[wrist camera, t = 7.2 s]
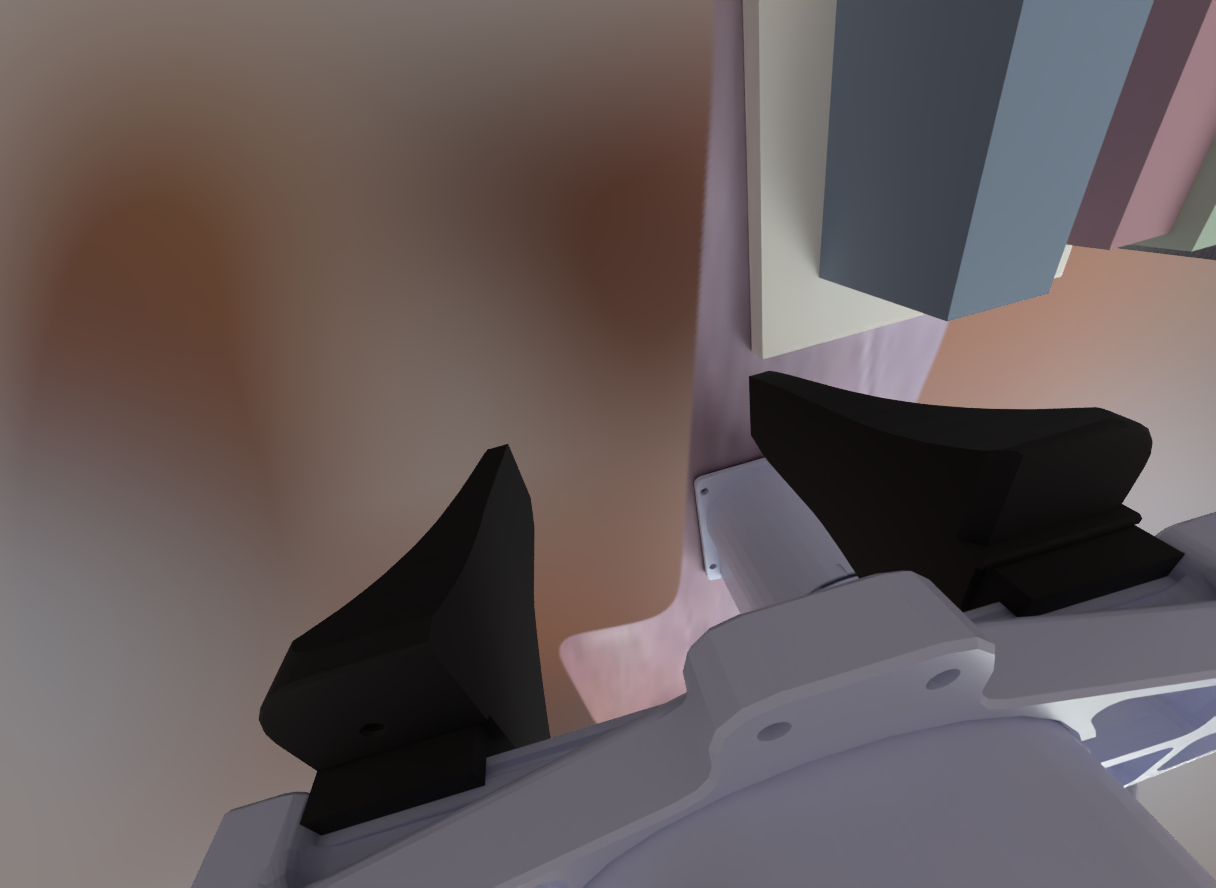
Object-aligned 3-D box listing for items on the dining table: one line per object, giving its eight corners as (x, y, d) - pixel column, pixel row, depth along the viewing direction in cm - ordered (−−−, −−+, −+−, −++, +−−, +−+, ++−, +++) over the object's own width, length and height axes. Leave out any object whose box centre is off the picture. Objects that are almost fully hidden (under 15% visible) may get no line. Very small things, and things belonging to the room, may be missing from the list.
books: (1061, 217, 20) (1257, 233, 15) (966, 243, 20) (1129, 268, 15) (1171, -105, 15) (1548, -267, 9) (1040, -72, 14) (1347, -218, 9)
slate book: (891, 258, 20) (1048, 293, 14) (818, 277, 20) (947, 321, 14) (938, -59, 14) (1234, -223, 8) (838, -35, 14) (1067, -184, 8)
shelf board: (1037, 271, 23) (1061, 276, 22) (751, 351, 22) (762, 359, 21) (1205, -233, 14) (1258, -264, 13) (739, -121, 13) (757, -145, 12)
